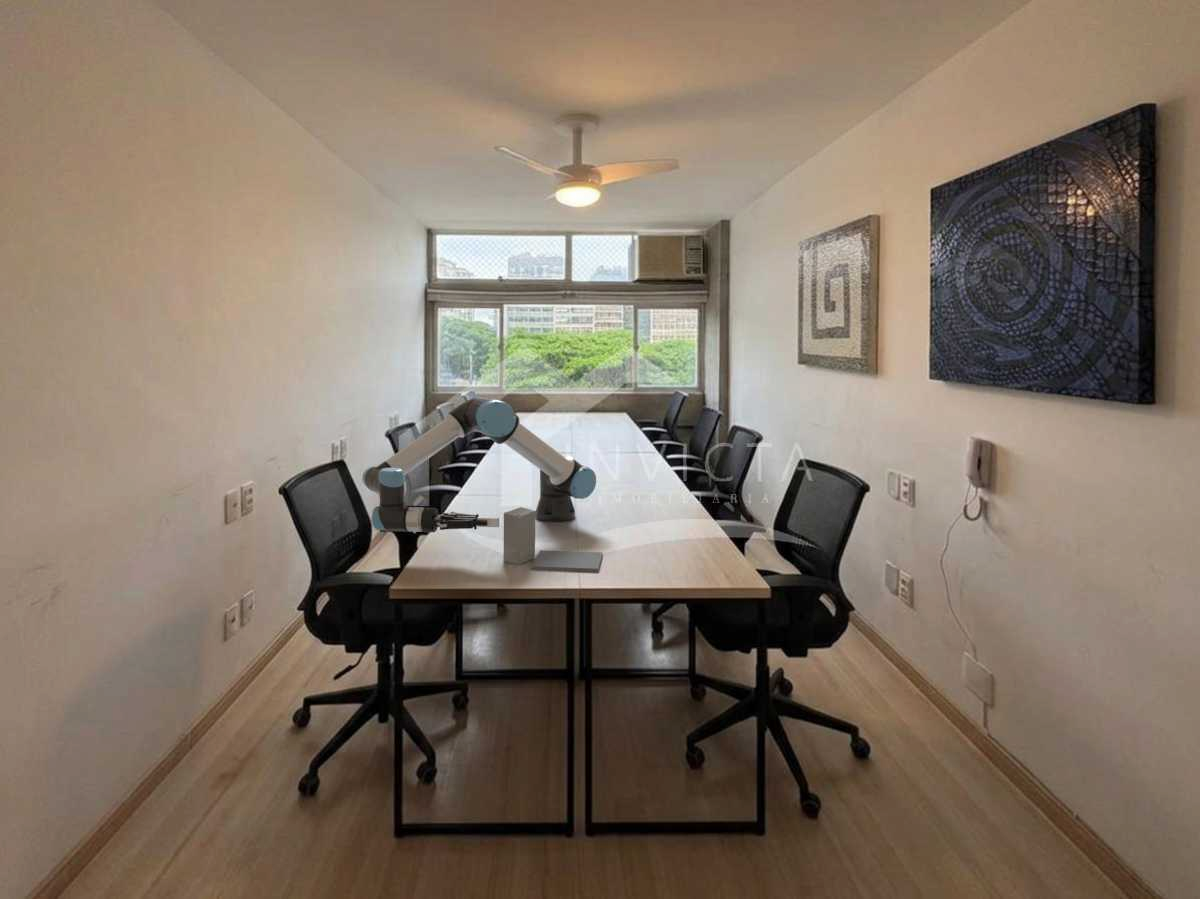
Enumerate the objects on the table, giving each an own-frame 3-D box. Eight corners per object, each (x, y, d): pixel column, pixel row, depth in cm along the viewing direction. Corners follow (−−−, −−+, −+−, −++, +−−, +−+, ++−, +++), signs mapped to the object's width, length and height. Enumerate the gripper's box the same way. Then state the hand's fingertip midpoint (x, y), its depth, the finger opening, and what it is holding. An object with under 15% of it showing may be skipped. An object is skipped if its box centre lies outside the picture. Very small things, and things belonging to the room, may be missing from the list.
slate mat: (531, 569, 214) (531, 566, 213) (539, 553, 229) (539, 550, 229) (598, 571, 212) (598, 568, 212) (602, 555, 228) (602, 552, 228)
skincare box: (519, 555, 227) (519, 506, 225) (537, 559, 223) (537, 509, 221) (501, 561, 220) (501, 511, 218) (519, 566, 216) (519, 515, 214)
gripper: (430, 526, 229) (503, 528, 227) (416, 537, 216) (494, 540, 214) (429, 503, 228) (503, 505, 226) (416, 513, 215) (493, 515, 213)
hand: (498, 522), depth 220 cm, fingers closed
